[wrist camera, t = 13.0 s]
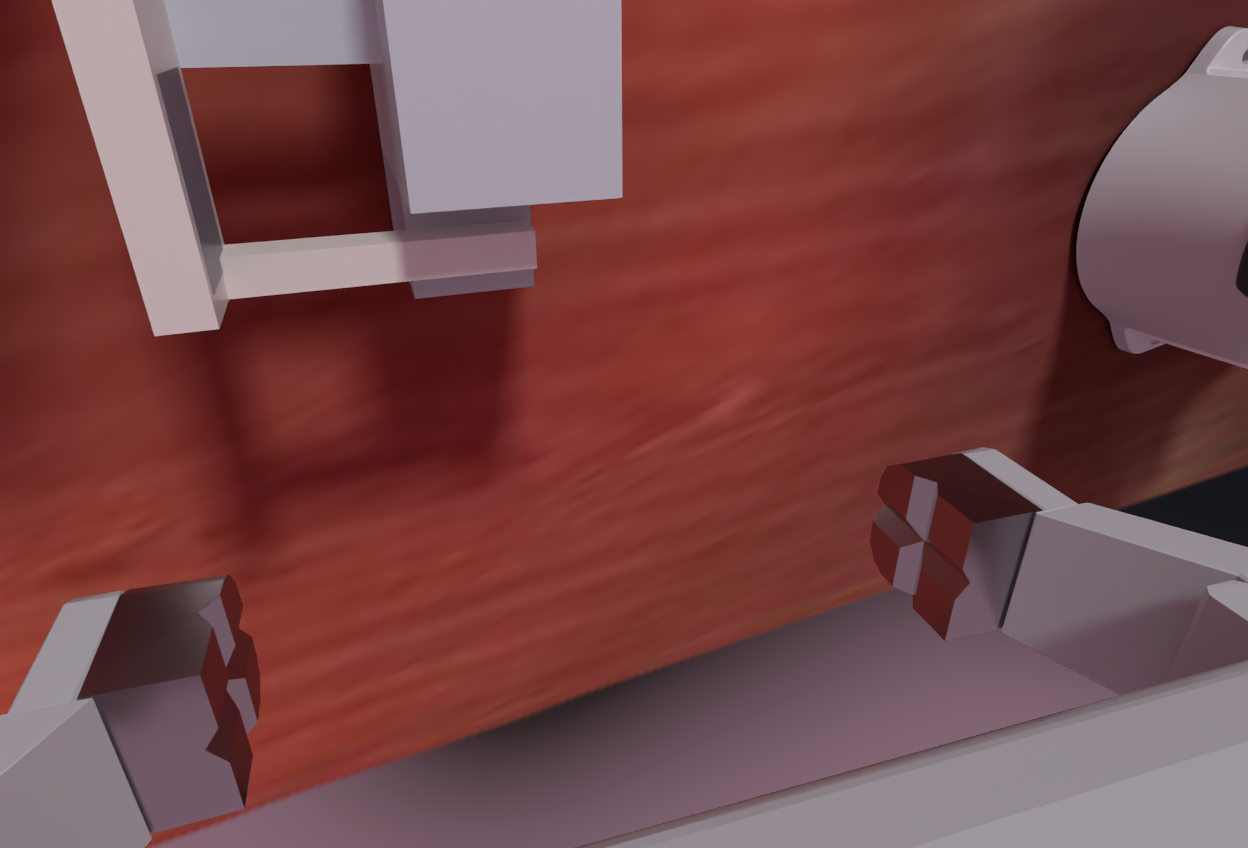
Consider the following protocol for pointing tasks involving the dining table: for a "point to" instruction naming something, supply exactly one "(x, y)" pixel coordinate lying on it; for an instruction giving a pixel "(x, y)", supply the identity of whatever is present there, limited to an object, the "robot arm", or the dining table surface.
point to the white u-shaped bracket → (182, 199)
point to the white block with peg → (452, 97)
